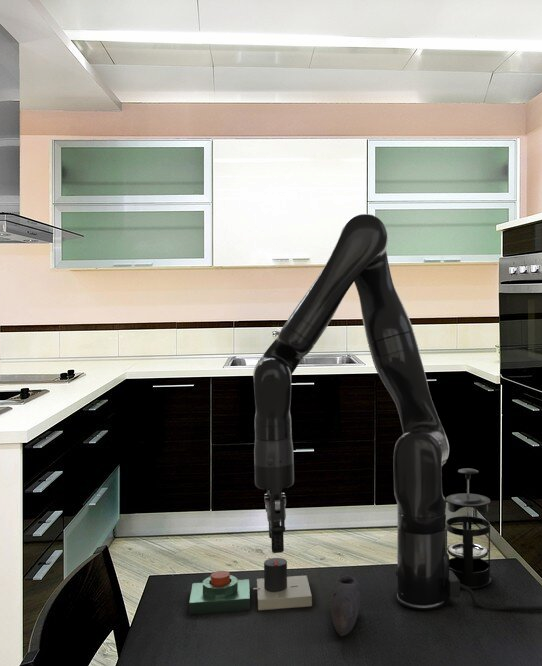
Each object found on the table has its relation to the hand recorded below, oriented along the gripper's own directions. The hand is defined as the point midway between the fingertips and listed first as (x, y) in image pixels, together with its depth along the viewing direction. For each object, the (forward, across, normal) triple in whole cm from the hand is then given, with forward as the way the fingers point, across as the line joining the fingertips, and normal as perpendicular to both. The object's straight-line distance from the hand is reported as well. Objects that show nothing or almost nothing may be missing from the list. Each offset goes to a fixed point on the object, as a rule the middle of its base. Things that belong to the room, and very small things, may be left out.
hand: (276, 544), depth 130 cm
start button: (+7, +1, +11) cm, 13 cm away
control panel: (+11, +1, -1) cm, 11 cm away
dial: (+9, +1, 0) cm, 9 cm away
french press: (+11, +2, -39) cm, 41 cm away
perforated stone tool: (+11, -12, -11) cm, 20 cm away
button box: (+10, +1, +11) cm, 15 cm away
